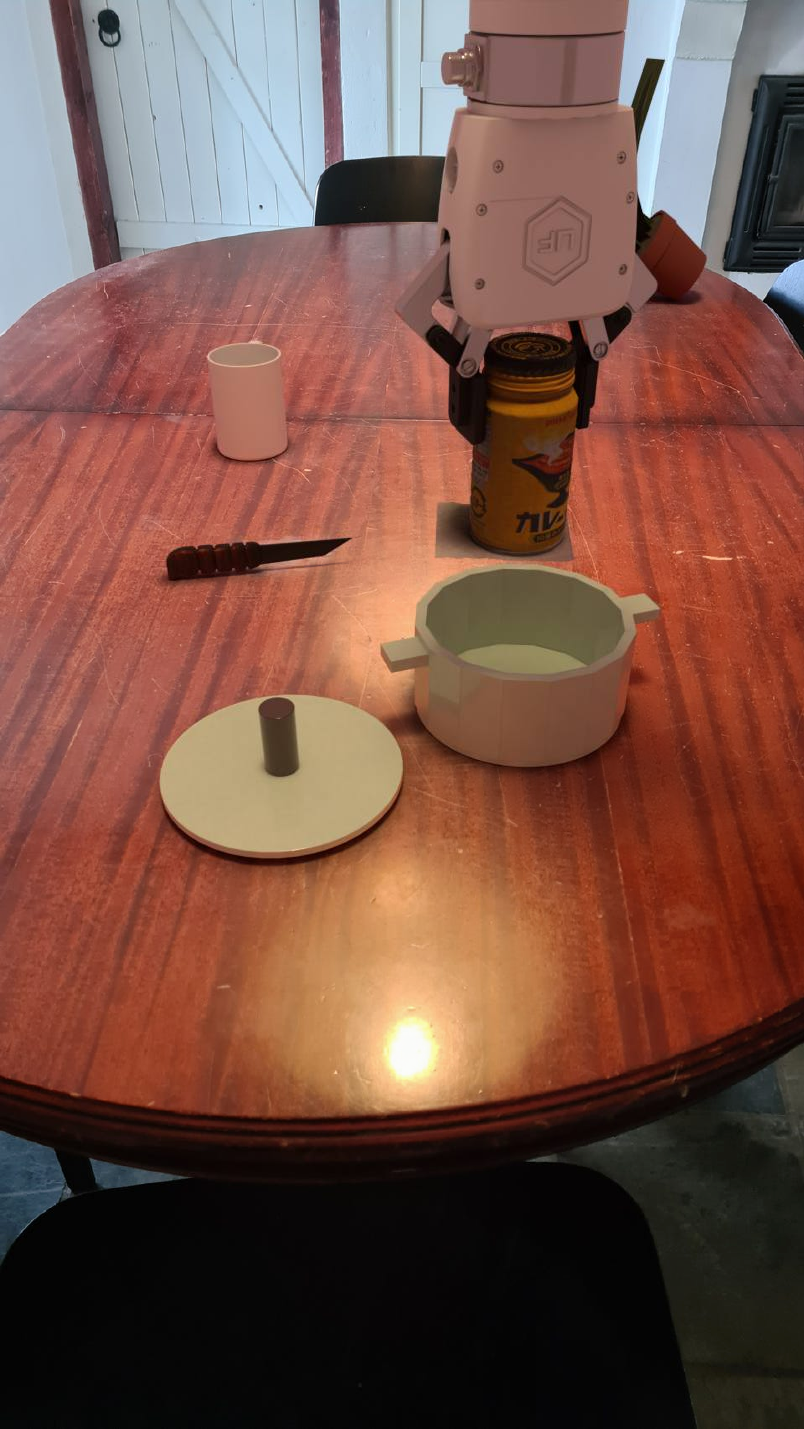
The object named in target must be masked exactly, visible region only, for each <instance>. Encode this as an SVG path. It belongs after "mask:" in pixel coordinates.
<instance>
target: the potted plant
mask: <svg viewBox="0 0 804 1429" xmlns="http://www.w3.org/2000/svg"><path fill="white" fill-rule="evenodd" d="M665 62H666V59H663V58H651V57H646V58H645V62H644V64H643V68H642V71H641V74H640V77H639V80H638V84H637V86H636V90H635V93H634V95H633V98H632V102H631V105H630V107H632V108H633V114H634V123H635V134H636V151H637V154H638V152H639V147H640V143H641V136H642V133H643V130H644V126H645V123H646V120H647V116H648V113H649V111H650V107H651V104H652V101H653V99H654V98H653V97H654V95H655V92H656V89H657V86H658V83H659V81H660V77H661V74H662V71H663V68H664V65H665ZM638 190H639V189H637V222H636V241H635V253H636V254H637V255H638V257H639V258H640V259H641V261H642V262H643V263H644V265H645V266H646V267H647V269H648V270H649V271H650V273H651V274H652V275H653V277H654V278H655V279H656V281H657V289H656V291H655V293H659V294H661V295H663V296H665V297H667V298H669V299H672V300H674V301H677V300H680V299H681V298H683V297H684V296H685V295H686V294H687V293H688V292H689V291H690V290H691V289H692V287H693V286H694V285H695V284H696V282H697V281H698V279H699V278H700V276H701V275H702V273H703V271H704V269H705V266H706V264H707V260H708V258H707V254H706V253H705V252H704V251H703V250H702V249H701V248H700V247H699V246H698V245H697V244H696V242H695V241H694V240H693V239H692V238H691V237H690V236H689V234H687V232H686V231H684V229H683V228H682V227H681V226H680V225H679V224H678V222H677V220H676V219H675V218H674V217H672V216H671V215H670V214H669V213H668V212H666V211H665V210H663V209H660V210H658V211H656V212H654V213H653V214H652V215H651V216H650V217H649V216H647V214H645V213H644V211H643V206H642V204H641V200H640V197H639V191H638Z"/></svg>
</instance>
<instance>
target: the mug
mask: <svg viewBox="0 0 804 1429" xmlns="http://www.w3.org/2000/svg"><path fill="white" fill-rule="evenodd" d="M206 360H207V361H206V362H207V369H208V377H209V378H208V379H209V386H210V393H211V394H210V395H211V403H212V410H213V412H212V413H213V418H214V429H215V435H216V436H215V438H216V444H217V449H218V451H219V452H220V454H222V455H223V456H224V457H225V458H226V457H227V458H228V459H232V460H236V461H237V460H238V461H261V460H266V459H270V458H273V457H277V456H278V455H281V454H282V453H283V452H285V451H286V449H287V447H288V442H289V441H288V427H287V416H286V405H285V404H286V401H285V390H284V378H283V377H284V376H283V364H282V352H281V350H280V349H279V348H277V347H276V346H273V345H270V344H266V343H262V342H261V341H260V340H250V341H249V340H248V342H238V343H230V344H225V345H221V346H218V347H216V348H214V349H212V350H210V351H209V352H208V353H207V356H206Z"/></svg>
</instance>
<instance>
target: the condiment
mask: <svg viewBox="0 0 804 1429" xmlns="http://www.w3.org/2000/svg"><path fill="white" fill-rule="evenodd" d="M576 360H577V356H576V351H575V348H574V347H573V343H570V341H568V339H566V338H564V337H561V336H559V335H558V336H557V335H554V334H550V333H545V332H535V331H534V332H532V331H515V332H509V333H505V334H500V335H499V336H495V337H493V338H492V339H490V340H489V343H488V346H487V348H486V351H485V353H484V356H483V367H482V369H481V373H482V374H483V375H484V376H485V377H486V379H487V399H486V421H485V440H484V441H482V443H481V444H477V445H472V451H471V452H472V458H471V459H472V460H471V472H470V496H469V503H461V502H453V501H449V502H448V501H447V502H443V501H438V502H437V504H436V522H435V524H436V526H435V545H434V546H435V548H434V559H447V558H448V559H450V558H451V559H457V560H459V559H461V560H462V559H472V560H482V559H487V560H497V561H499V560H500V561H509V562H510V561H511V562H525V561H526V562H543V563H545V562H555V563H559V562H560V563H565V562H567V563H568V562H572V561H575V555H574V550H573V546H572V539H571V534H570V528H569V527H570V526H569V521H568V504H569V502H568V501H569V498H570V486H571V480H572V479H571V478H572V466H573V462H574V460H573V459H574V456H573V455H574V448H575V447H574V446H575V438H576V428H575V427H576V418H577V410H578V409H577V406H578V396H577V394H576V392H575V390H574V389H573V386H572V385H573V383H574V381H575V374H574V371H575V364H576Z"/></svg>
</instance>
